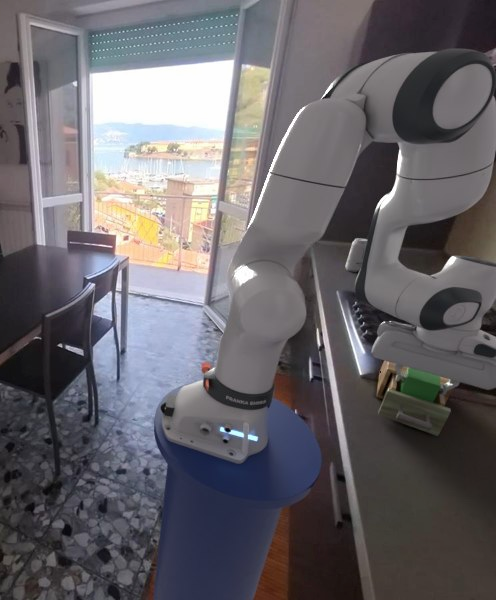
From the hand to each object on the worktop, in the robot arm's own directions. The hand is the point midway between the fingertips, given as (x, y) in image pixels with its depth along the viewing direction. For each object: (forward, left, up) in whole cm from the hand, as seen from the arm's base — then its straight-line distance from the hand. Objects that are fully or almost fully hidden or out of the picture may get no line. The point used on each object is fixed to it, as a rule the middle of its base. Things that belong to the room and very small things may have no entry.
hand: (419, 386), depth 79 cm
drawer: (0, -1, -7) cm, 8 cm away
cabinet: (+4, +10, -8) cm, 13 cm away
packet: (0, 0, -2) cm, 2 cm away
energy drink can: (+26, +108, -8) cm, 111 cm away
